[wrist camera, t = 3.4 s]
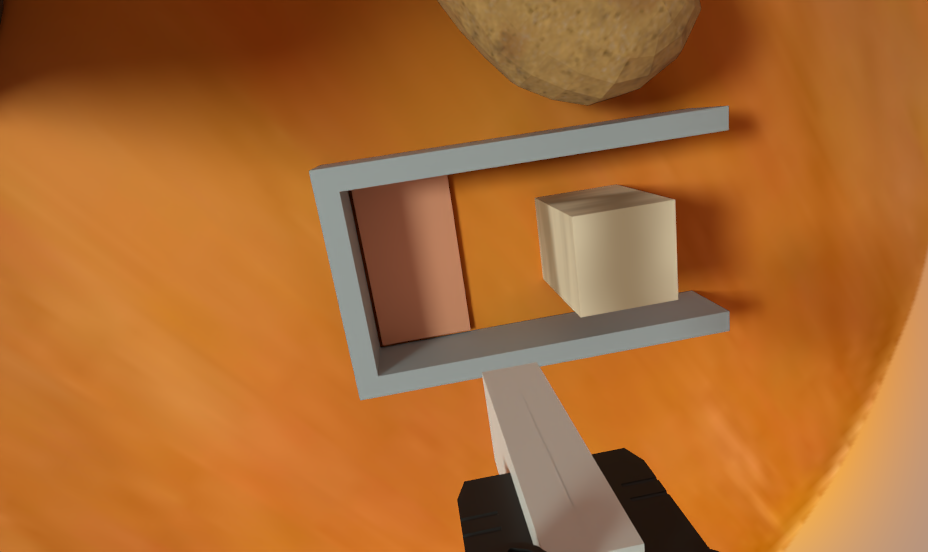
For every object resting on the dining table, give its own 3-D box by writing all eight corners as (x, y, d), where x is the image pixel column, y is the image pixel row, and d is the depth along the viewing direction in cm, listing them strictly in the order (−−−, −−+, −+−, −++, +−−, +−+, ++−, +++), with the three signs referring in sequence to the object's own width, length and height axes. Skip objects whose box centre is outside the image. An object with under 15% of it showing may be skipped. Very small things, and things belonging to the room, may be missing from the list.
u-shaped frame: (364, 368, 33) (360, 400, 29) (320, 165, 29) (308, 170, 25) (692, 308, 34) (729, 330, 31) (687, 108, 31) (728, 105, 27)
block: (543, 278, 33) (580, 317, 26) (534, 197, 31) (571, 216, 25) (621, 264, 33) (678, 299, 26) (616, 184, 32) (675, 199, 25)
